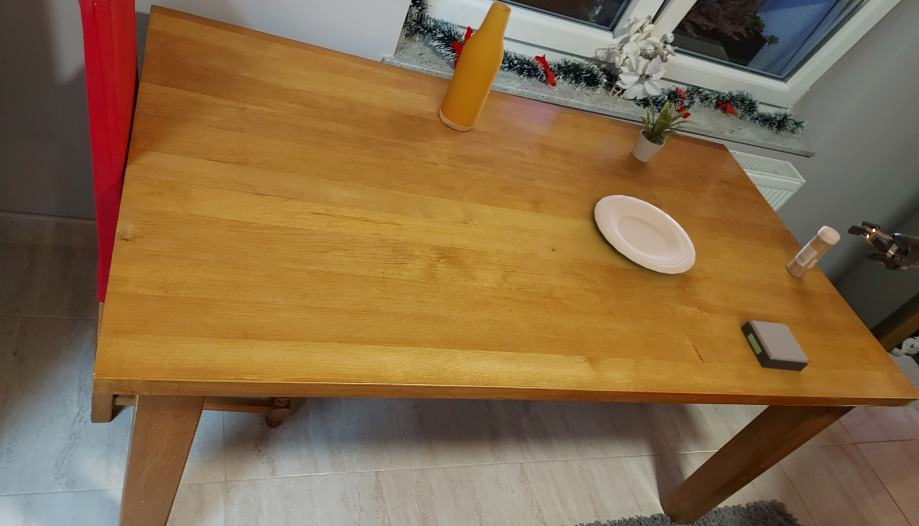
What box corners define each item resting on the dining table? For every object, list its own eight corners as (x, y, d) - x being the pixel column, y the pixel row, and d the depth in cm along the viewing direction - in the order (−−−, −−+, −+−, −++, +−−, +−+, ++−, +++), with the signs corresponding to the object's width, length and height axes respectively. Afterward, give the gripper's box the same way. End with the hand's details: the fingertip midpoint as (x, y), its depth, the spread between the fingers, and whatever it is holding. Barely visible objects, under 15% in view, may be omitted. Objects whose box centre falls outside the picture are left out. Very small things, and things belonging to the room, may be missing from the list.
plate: (694, 295, 144) (699, 289, 143) (587, 249, 142) (591, 243, 141) (688, 227, 163) (692, 221, 162) (593, 186, 161) (597, 180, 160)
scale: (777, 332, 145) (787, 323, 143) (800, 371, 138) (811, 362, 136) (739, 328, 141) (748, 318, 139) (761, 367, 135) (771, 357, 133)
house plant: (676, 179, 178) (712, 128, 168) (633, 173, 173) (667, 120, 162) (654, 146, 187) (687, 96, 177) (612, 138, 182) (643, 86, 171)
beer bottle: (461, 108, 166) (506, -4, 147) (481, 131, 161) (530, 19, 143) (430, 109, 161) (473, -6, 142) (450, 134, 156) (497, 17, 137)
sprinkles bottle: (805, 280, 164) (844, 241, 155) (789, 275, 163) (827, 235, 155) (799, 268, 168) (837, 228, 159) (783, 262, 167) (820, 222, 158)
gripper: (903, 220, 169) (855, 210, 163) (938, 261, 159) (889, 252, 154) (880, 241, 174) (833, 232, 168) (914, 282, 164) (865, 274, 159)
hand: (860, 241), depth 161 cm, fingers open, 8 cm apart
